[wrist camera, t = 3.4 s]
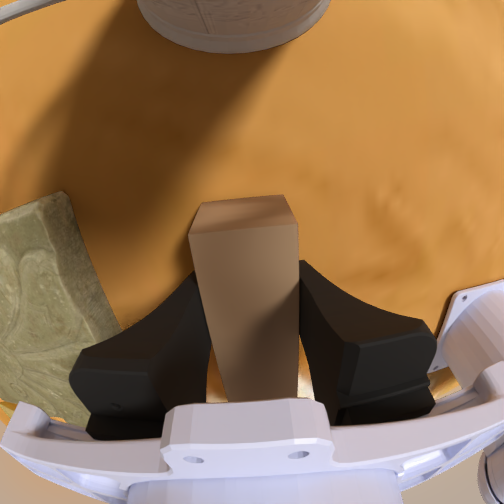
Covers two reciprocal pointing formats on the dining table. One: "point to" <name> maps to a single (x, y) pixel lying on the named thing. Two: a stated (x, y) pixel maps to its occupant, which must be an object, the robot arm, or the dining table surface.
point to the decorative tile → (47, 306)
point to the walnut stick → (250, 293)
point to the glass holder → (214, 21)
